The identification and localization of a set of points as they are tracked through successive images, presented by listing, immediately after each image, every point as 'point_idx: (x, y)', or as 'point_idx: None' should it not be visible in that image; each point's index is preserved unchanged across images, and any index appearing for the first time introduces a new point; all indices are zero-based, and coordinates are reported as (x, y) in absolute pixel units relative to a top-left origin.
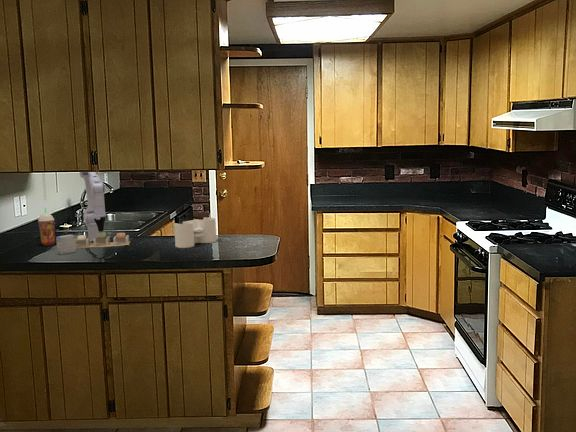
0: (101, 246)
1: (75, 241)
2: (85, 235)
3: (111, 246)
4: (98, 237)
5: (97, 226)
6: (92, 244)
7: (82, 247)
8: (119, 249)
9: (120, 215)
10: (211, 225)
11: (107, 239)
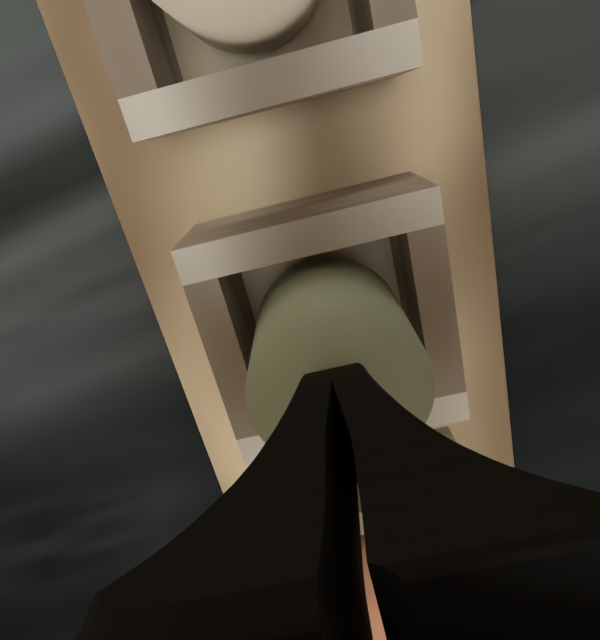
0: (171, 344)
1: None
2: (263, 6)
3: (210, 450)
4: (257, 322)
5: (266, 444)
6: (365, 126)
7: (84, 52)
8: (42, 576)
9: None
10: None
11: (243, 451)
